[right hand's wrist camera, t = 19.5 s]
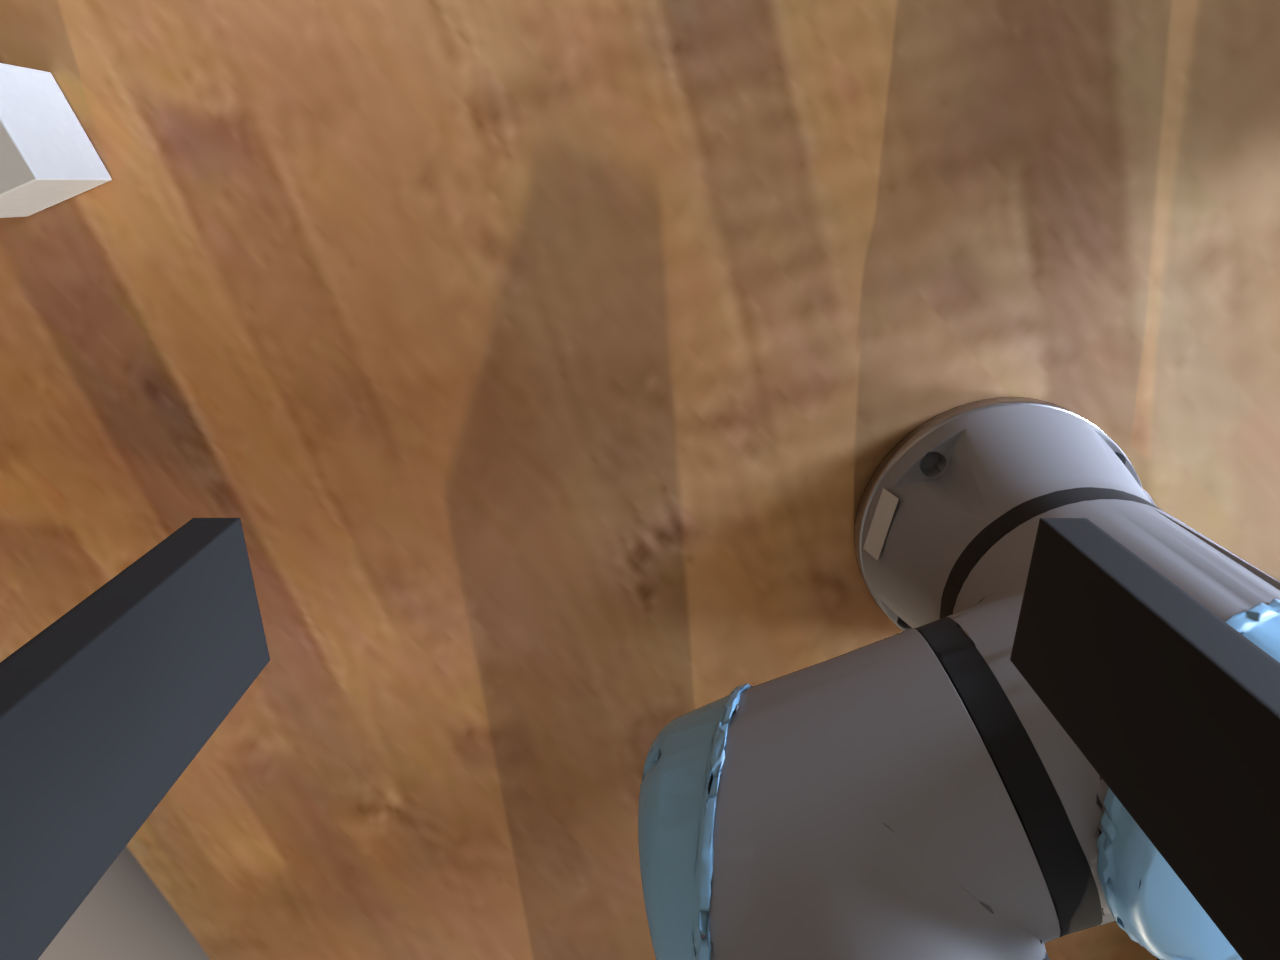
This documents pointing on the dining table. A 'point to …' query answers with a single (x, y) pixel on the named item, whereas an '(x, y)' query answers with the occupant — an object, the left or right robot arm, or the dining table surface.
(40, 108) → the pale grey block
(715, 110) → the dining table surface
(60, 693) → the right robot arm
